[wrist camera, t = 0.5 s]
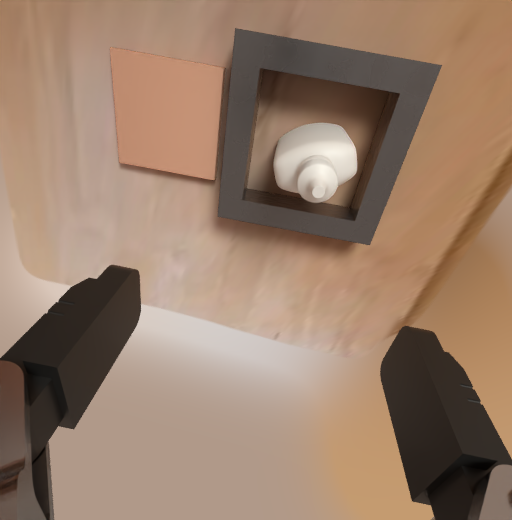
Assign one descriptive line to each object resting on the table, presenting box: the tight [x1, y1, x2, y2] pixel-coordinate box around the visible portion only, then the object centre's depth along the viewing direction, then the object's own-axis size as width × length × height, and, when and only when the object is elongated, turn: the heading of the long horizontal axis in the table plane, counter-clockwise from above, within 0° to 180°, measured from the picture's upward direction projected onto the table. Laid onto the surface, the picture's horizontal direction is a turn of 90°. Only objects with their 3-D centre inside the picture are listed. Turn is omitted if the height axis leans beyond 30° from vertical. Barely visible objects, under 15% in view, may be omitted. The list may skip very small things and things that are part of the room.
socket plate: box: [218, 28, 442, 245], centre depth 26 cm, size 14×14×3 cm
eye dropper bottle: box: [273, 123, 357, 203], centre depth 23 cm, size 4×6×12 cm
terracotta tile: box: [110, 47, 226, 180], centre depth 27 cm, size 9×9×1 cm
